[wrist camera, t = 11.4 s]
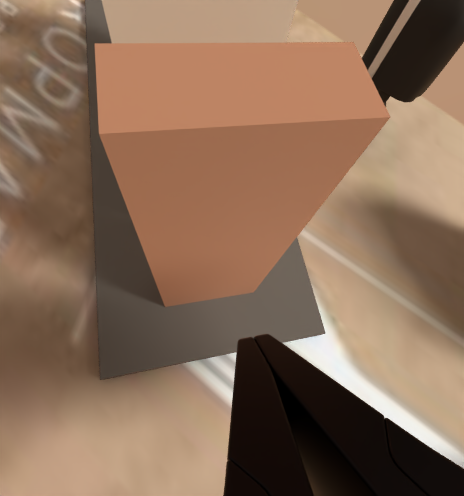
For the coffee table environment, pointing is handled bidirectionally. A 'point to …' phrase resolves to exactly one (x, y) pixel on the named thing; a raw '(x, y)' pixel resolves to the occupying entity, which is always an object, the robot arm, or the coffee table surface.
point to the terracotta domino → (229, 150)
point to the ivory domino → (199, 21)
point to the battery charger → (414, 46)
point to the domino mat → (146, 291)
